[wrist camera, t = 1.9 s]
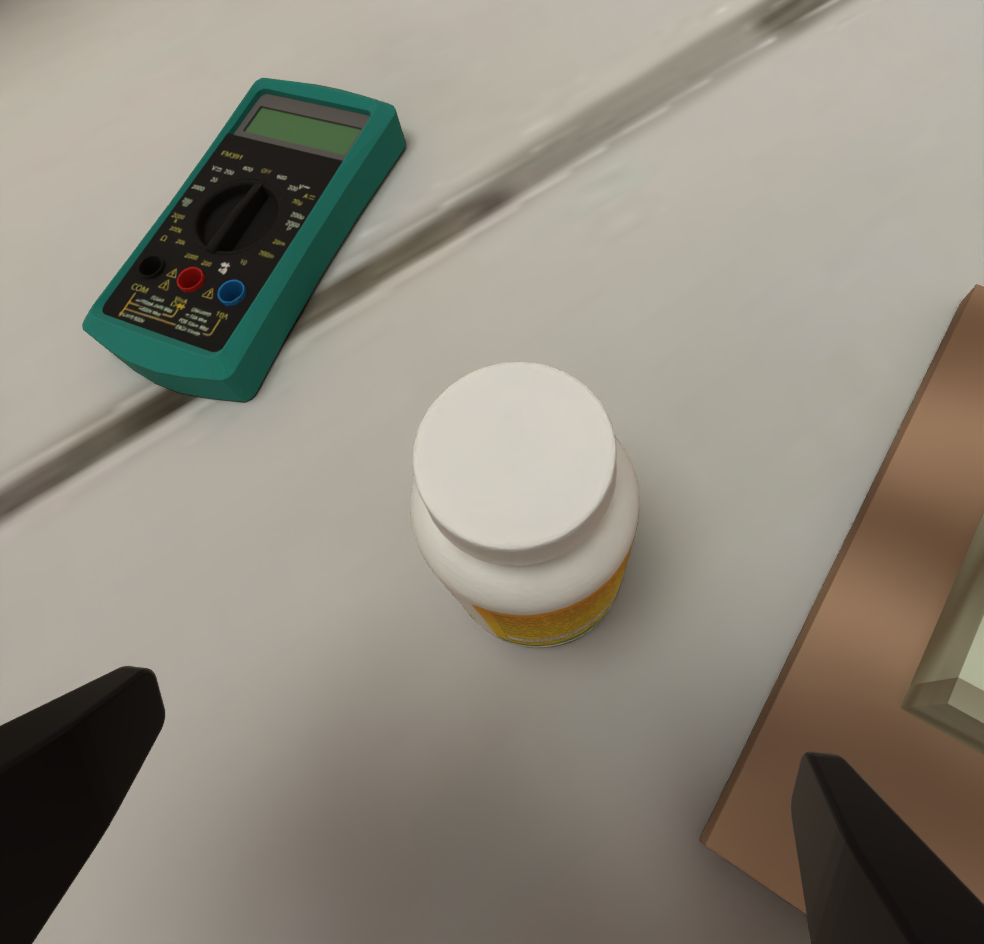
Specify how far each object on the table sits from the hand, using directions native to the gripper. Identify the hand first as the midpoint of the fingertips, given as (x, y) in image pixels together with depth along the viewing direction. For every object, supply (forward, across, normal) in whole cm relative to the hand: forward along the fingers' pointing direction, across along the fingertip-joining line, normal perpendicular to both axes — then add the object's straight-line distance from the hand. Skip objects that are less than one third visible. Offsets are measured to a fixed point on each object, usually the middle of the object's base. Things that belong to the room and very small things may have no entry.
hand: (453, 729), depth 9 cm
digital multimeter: (+22, +13, -4) cm, 26 cm away
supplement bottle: (+12, 0, +5) cm, 13 cm away
